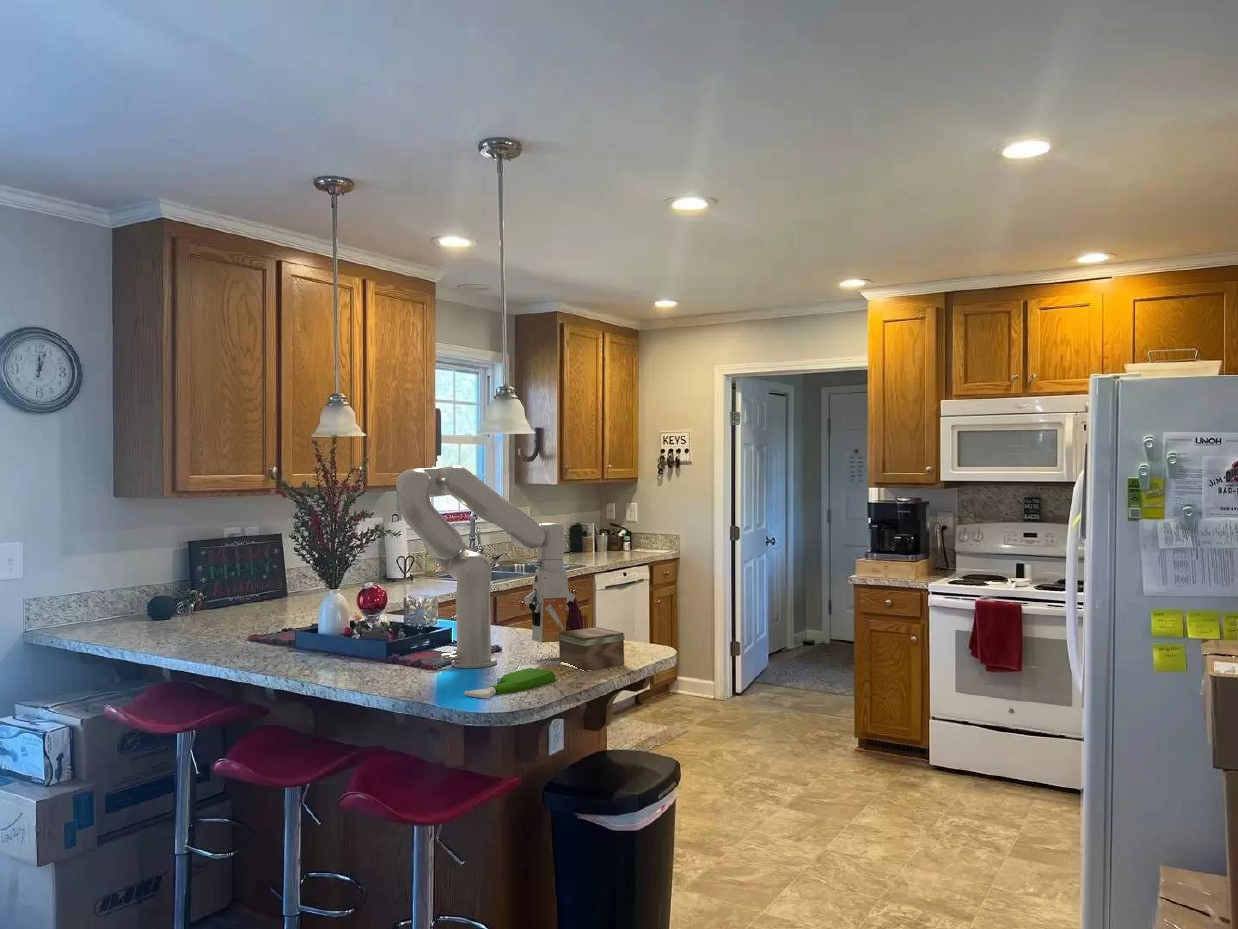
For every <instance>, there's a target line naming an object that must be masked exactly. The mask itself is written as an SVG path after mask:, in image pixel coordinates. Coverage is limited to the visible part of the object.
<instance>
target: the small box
mask: <svg viewBox="0 0 1238 929" xmlns="http://www.w3.org/2000/svg"><path fill="white" fill-rule="evenodd" d="M536 599H537V597H535V601H536ZM532 604H534V602H533V601H532ZM566 610H567V597H558V598H543V604H541V606H540V610H539V613H540V626H538V627H537V626H534V625H533V624H532V627H531V628H532V629H531V632H532V634H531V636H532V637H531V640H532V641H535V642H537V643H541V644H544V643H558V642H559V640H558V635H559V632H564V631H567V620H566ZM567 611H568V610H567Z"/></svg>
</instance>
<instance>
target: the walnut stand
mask: <svg viewBox="0 0 1238 929" xmlns="http://www.w3.org/2000/svg"><path fill="white" fill-rule="evenodd" d="M558 640H559V643H558V645H559V646H558V647H559V650H558V651H559V654H558V655H559V657H558V658H559V663H560V662H564V663H568V664H570V665H573V666H575V667H577V668H578V669H582V670H584V671H586V672H589V671H588V670H592V671H596V669H599V670H604V669H608V668H609V669H610V668H616V667H622V666H625V634H624V632H622V631H618V630H613V629H608V628H603V627H599V626H596V627H595V626H594V627H588V628H580V629H572V630H566V631H564V632H559V635H558ZM584 671H583V672H584Z"/></svg>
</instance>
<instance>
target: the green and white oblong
mask: <svg viewBox="0 0 1238 929" xmlns="http://www.w3.org/2000/svg"><path fill="white" fill-rule="evenodd" d="M555 679H556V675H555V673H554V671H553V670H550V669H549V670H548V669H541V668H534V667H529V668H524V669H523V668H522V669H519V670H515V671H511V672H509V673H506V674H504V675H502V676H501V677H500V681H499V683H498V684H496V685H490V686H489V687H487V688H484V689H483V688H482V689H481V688H479V689H474V690H473V689H471V690H465V691H464V692H463V695H465V696H467V697H470V698H478V699H486V700H490V699H491V697H492V696H499V695H503V694H504V695H505V694H510V693H511V694H512V693H516V692H523V691H527V690H531V689H532V690H533V689H535V688H539V687H542V686H545V685H547V684H551V683H553V682H554V681H555Z"/></svg>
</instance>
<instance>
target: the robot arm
mask: <svg viewBox="0 0 1238 929" xmlns="http://www.w3.org/2000/svg"><path fill="white" fill-rule="evenodd" d="M395 486H396V487H395V488H396V490H397V492H398V494H399V497H398V503H399V509H400V513H401V516H402V518H403V520H404V521H405V523H406V524H407V526H409V527H410V528H411V530H412V531H413V532H414V533H415V534H416V535H417V536H418V537H419V538H420V539H421V541H422V542H423V547H424V549H425V551H426V552H427V553H428V555H429V556H430V557H431V558H432V559H433V560H434V561H435V562H436V563H437V564H438V565H439V566H440V567H441V568H442V569H443V570H444V571H445V572H446V573H447V574H449V576H450V577H451V578H453V579H454V580H455V581H456V593H455V611H456V613H455V615H456V620H455V621H456V648H454V649H453V651H451V652H450V653H449V652H447V653H442V654H440V660H441V662H445V661H449V662H450V661H451V666H452V667H455V668H461V669H477V668H478V669H479V668H486V667H491V666H494V665H496V664H497V662H498V660H497V658H496V657H493V656H492V639H491V638H492V635H491V634H492V632H491V630H492V628H491V624H492V623H491V586H492V567H491V563H490V561H489V559H487V557H486V556H484V554H481V553H479V552H475V551H474V550H472V549H471V548H470V547H469V546H468V544H466V543H465V541H463V537H462V535H461V533H460V532H459V531H458V530H457V529H456V528H455V527H453V525H451V523H450V522H448V520H446V518H444V516H442V514H440V512H439V511H438V510H437V509H436V507H434V505H433V504H432V501H431V498H435V497H444V496H452V497H453V498H454V499H455V500H456V501H458V502H459V503H461V504H462V505H463V506H464V507H466V508H467V509H468V510H470V511H471V512H472V513H473V514H475V515H476V516H477V517H478V518H480V519H482V520H483V521H485V522H488V523H490V524H492V525H494V526H496V527H498V528H500V529H501V530H503V531H504V532H506V533H507V534H509V537H510V540H511V542H512V544H514V545H515V546H517V547H518V548H521V549H527V550H528V549H529V550H535V549H537V559H536V560H537V561H534V562H533V564H534V565H533V566H534V567H536V568H537V569H536V570H535V573H534V576H533V577H534V578H533V583H532V584H533V585H532V591H531V592H530V593H528V594H527V595H526V596H525V597H524V598H523V600H524V603H525V604H526V607H527V608H528V609H529V610H530V612H531V619H532V620H531V623H532V626H533V625H534V626H537V627H538V626H540V613H539V610H540V606H541V604H543V598H558V597H567V610H566V621H567V620H568V611H569V608H570V607H571V606H572V605H573V602H574V601H575V598H576V595H575V594H574V593H572V592H571V591H569V581H568V574H567V573H568V572H567V570H566V569H564V553H565V550H564V549H565V546H564V545H565V527H564V525H563V524H562V523H560V522H543V523H538V522H537V521H536V520H535V519H533V518H532V517H530V515H528V514H527V513H525V511H523V510H521V509H520V508H519V507H518V506H516V505H515V504H513V503H511V502H510V501H509V500H507V499H506V498H505V497H503V496H502V495H500V494H499V493H497V492H496V491H495V490H494V489H492V488H491V487H490V486H488V485H487V484H486V483H485V482H483V480H481V479H480V478H479V477H477V476H476V475H475V474H474V473H472V472H471V471H470V470H468V469H467V468H465V467H464V466H462V465H456V464H455V465H448V466H440V467H431V468H429V467H427V468H412V469H411V468H410V469H406V470H403V471H402V472H400V474H399V475H398V477H397V479H396V482H395ZM535 597H537V599H536V601H535ZM533 602H534V604H533Z"/></svg>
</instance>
